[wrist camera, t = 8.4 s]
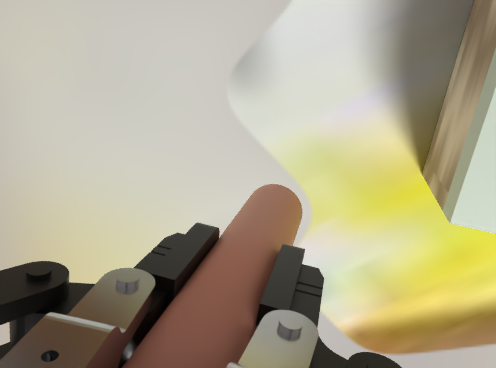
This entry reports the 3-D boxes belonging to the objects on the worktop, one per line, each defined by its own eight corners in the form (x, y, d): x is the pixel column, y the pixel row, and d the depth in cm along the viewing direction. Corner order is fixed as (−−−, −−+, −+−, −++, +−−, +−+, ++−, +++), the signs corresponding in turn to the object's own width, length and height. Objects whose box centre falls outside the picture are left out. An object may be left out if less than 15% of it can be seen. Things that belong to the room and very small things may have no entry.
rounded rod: (250, 179, 18) (80, 378, 7) (306, 189, 18) (221, 419, 6) (244, 230, 19) (83, 485, 8) (298, 241, 18) (209, 528, 7)
